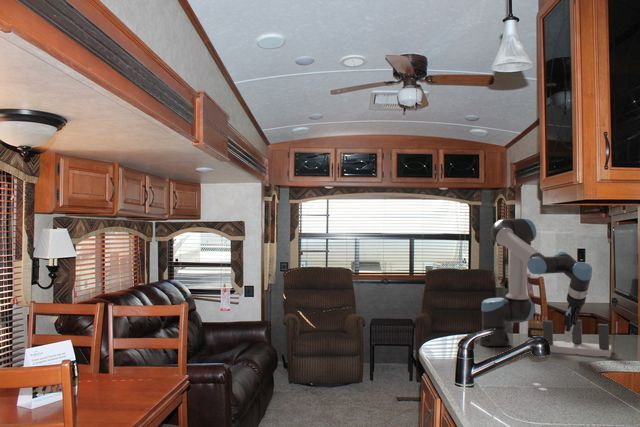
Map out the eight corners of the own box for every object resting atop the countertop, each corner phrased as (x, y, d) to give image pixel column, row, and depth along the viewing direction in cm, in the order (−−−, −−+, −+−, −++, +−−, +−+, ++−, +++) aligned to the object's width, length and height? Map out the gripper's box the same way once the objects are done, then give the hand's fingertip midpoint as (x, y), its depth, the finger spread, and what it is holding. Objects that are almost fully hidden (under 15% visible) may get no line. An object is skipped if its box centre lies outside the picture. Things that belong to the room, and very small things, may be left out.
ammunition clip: (527, 336, 295) (526, 314, 296) (528, 336, 297) (527, 314, 297) (548, 338, 290) (547, 316, 290) (549, 338, 291) (548, 315, 292)
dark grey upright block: (581, 343, 261) (580, 320, 261) (572, 342, 263) (571, 320, 263) (582, 342, 263) (581, 319, 263) (573, 341, 265) (572, 319, 265)
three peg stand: (610, 357, 246) (609, 325, 247) (542, 351, 261) (541, 321, 261) (611, 351, 257) (610, 321, 258) (546, 346, 272) (545, 317, 272)
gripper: (577, 304, 234) (568, 345, 245) (592, 292, 241) (582, 332, 252) (561, 296, 239) (552, 337, 251) (576, 284, 246) (567, 324, 258)
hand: (567, 335), depth 251 cm, fingers closed
